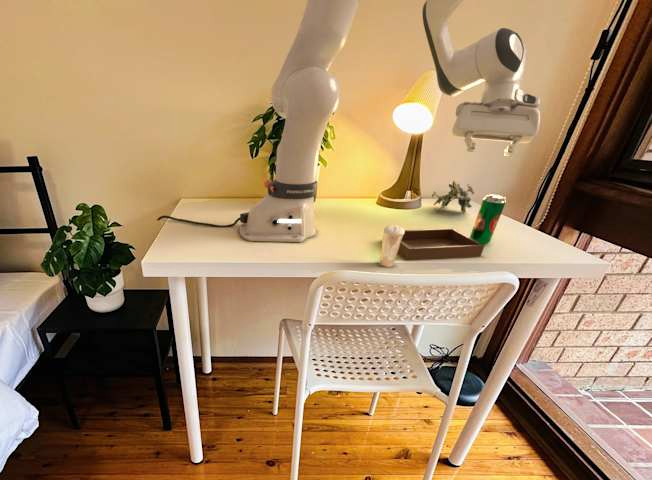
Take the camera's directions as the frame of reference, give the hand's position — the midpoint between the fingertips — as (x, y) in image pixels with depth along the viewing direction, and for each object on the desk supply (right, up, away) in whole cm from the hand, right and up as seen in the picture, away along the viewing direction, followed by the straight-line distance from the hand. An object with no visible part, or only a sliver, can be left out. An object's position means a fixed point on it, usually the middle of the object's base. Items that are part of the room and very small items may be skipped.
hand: (489, 152), depth 100 cm
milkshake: (-32, -33, -11) cm, 48 cm away
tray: (-17, -27, -2) cm, 32 cm away
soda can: (-2, -24, +2) cm, 24 cm away
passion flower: (+4, -7, +26) cm, 27 cm away
